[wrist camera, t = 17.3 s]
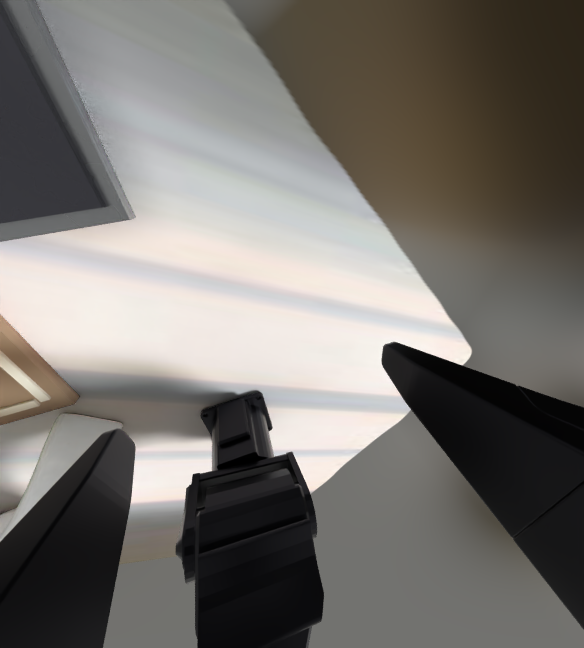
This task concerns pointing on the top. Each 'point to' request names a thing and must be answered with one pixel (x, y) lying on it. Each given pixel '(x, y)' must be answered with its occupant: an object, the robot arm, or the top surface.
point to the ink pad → (47, 138)
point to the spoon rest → (57, 460)
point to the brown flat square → (27, 380)
